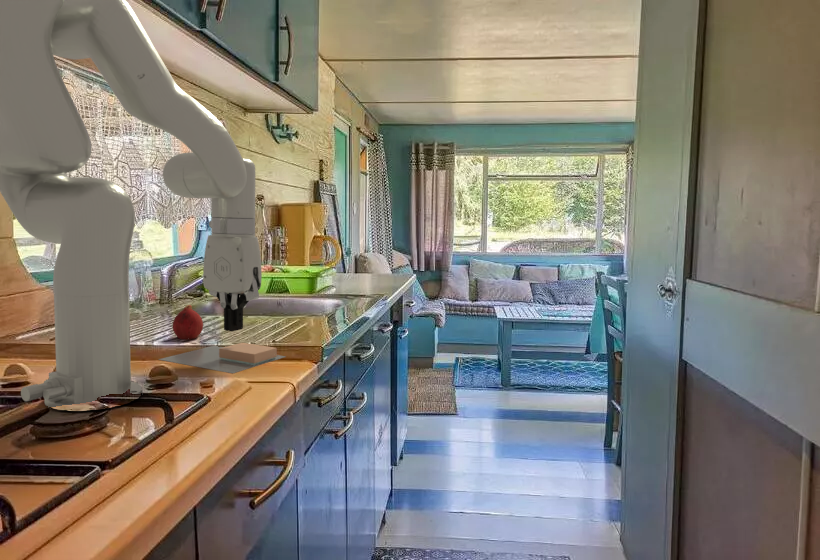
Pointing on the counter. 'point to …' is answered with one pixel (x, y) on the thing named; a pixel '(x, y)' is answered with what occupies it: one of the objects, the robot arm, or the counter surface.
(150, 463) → the counter surface
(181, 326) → the onion
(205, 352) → the slate board
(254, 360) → the tile
